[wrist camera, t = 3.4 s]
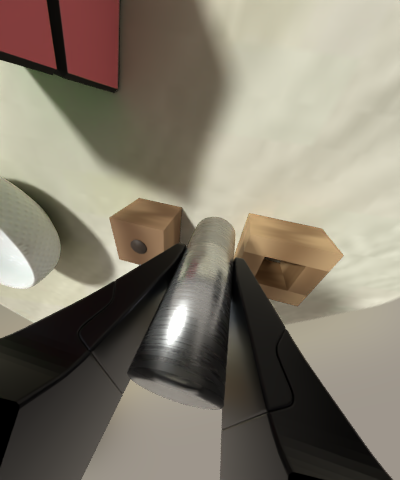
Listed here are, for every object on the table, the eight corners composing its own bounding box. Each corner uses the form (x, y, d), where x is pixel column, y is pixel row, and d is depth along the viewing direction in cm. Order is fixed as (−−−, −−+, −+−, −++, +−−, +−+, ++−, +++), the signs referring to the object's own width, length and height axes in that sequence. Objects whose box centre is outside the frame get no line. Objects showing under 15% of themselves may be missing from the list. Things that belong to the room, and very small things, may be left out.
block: (182, 207, 17) (162, 231, 13) (179, 243, 20) (163, 271, 16) (139, 197, 18) (108, 218, 14) (143, 234, 21) (118, 259, 17)
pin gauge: (240, 222, 9) (236, 397, 3) (229, 254, 10) (213, 415, 4) (197, 212, 9) (118, 358, 3) (193, 245, 10) (133, 387, 5)
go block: (322, 228, 15) (343, 255, 12) (288, 276, 19) (297, 306, 16) (249, 213, 16) (250, 234, 13) (231, 262, 20) (229, 288, 17)
